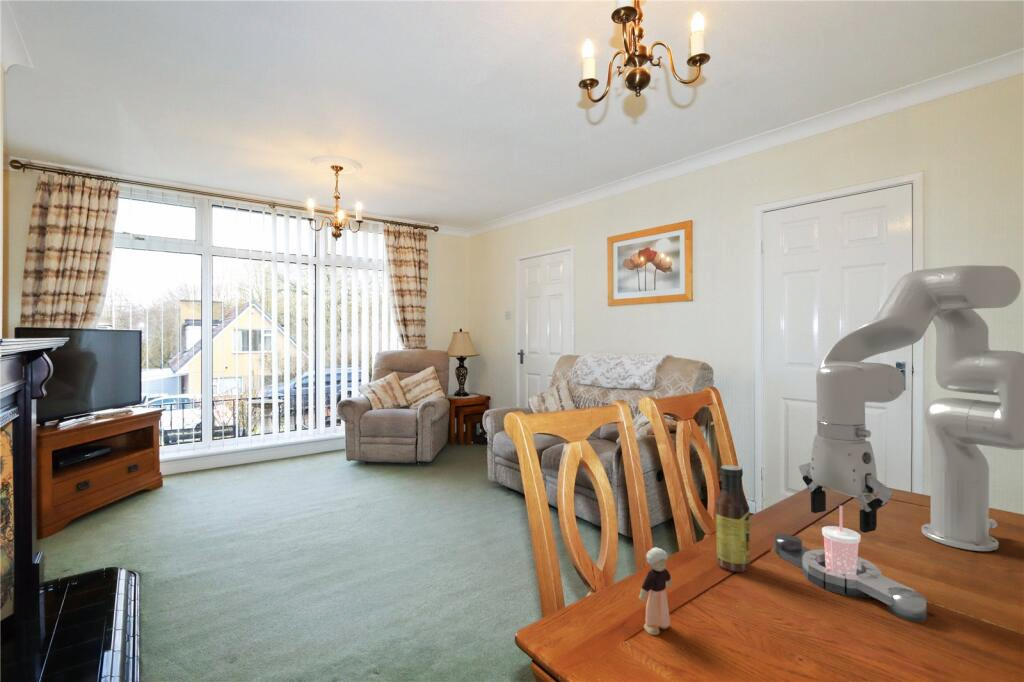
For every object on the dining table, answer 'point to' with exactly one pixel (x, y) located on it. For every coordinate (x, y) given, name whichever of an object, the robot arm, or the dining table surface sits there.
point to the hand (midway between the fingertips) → (841, 520)
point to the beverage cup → (841, 548)
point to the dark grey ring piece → (793, 553)
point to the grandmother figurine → (656, 592)
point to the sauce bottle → (732, 522)
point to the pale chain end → (871, 586)
